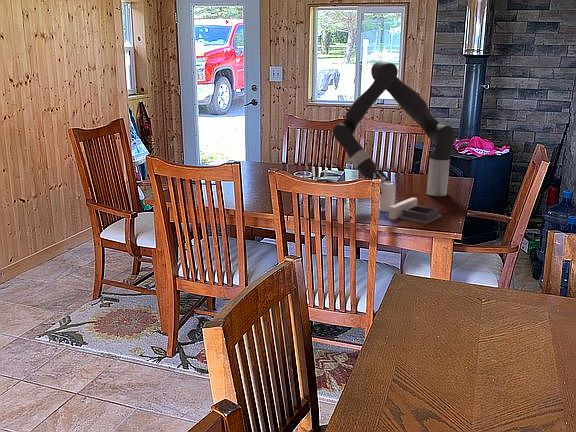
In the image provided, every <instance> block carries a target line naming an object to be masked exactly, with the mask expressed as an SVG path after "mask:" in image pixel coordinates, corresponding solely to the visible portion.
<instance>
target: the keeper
mask: <svg viewBox="0 0 576 432" xmlns="http://www.w3.org/2000/svg"><path fill="white" fill-rule="evenodd" d="M441 217H442V214H441V213H439V209H438V208H433V207H427V206H422V205H418V204H417V205H414V206H412V207H409V208H407V209H405V210H404V212H403V215H401V216H399V217H398V219H400V220H401V219H402V220H406V221H411V222H415V223H418V224H419V223H420V224H424V225H427V224H429V223H431V222H433V221H435V220H437V219H439V218H441Z"/></svg>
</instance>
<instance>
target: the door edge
mask: <svg viewBox="0 0 576 432" xmlns="http://www.w3.org/2000/svg"><path fill="white" fill-rule="evenodd" d="M414 205H418V197H410V198H408V199H405V200H402V201H400V202H397V203H394V205H392V206H390V207H389V212H388V219H390V220H396V219H399V216H401V215H403V212H404V210H405V209H407V208H409V207H412V206H414Z"/></svg>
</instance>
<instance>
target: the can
mask: <svg viewBox="0 0 576 432" xmlns="http://www.w3.org/2000/svg"><path fill="white" fill-rule="evenodd" d="M380 185H381V194H380V210H379V212H382V213H383V212H384V213H389V207H390V206H392V205H394V204H395V199H396V184H395V182H393V181H387V182H381V184H380Z"/></svg>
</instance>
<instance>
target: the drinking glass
mask: <svg viewBox="0 0 576 432" xmlns="http://www.w3.org/2000/svg"><path fill="white" fill-rule="evenodd" d="M316 180H317V181H326V182H334V183H335V181H333V180H331V179H325V178H322V179H321V178H317V179H316ZM310 201H311V209H312V208H313V199H312V197H311V196H310ZM321 207H322V209H324V208H325V199H324V198H321Z"/></svg>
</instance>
